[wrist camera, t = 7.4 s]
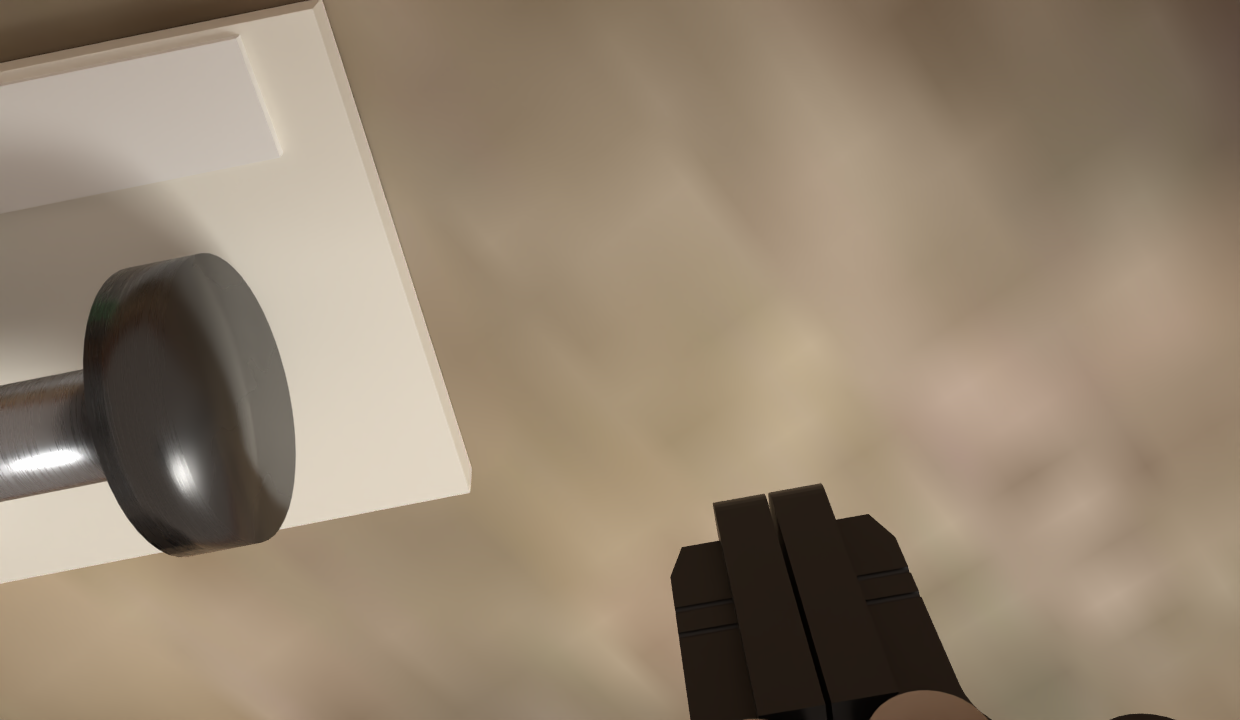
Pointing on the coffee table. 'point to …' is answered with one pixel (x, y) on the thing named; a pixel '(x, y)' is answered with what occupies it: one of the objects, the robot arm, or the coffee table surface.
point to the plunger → (165, 411)
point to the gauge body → (231, 229)
